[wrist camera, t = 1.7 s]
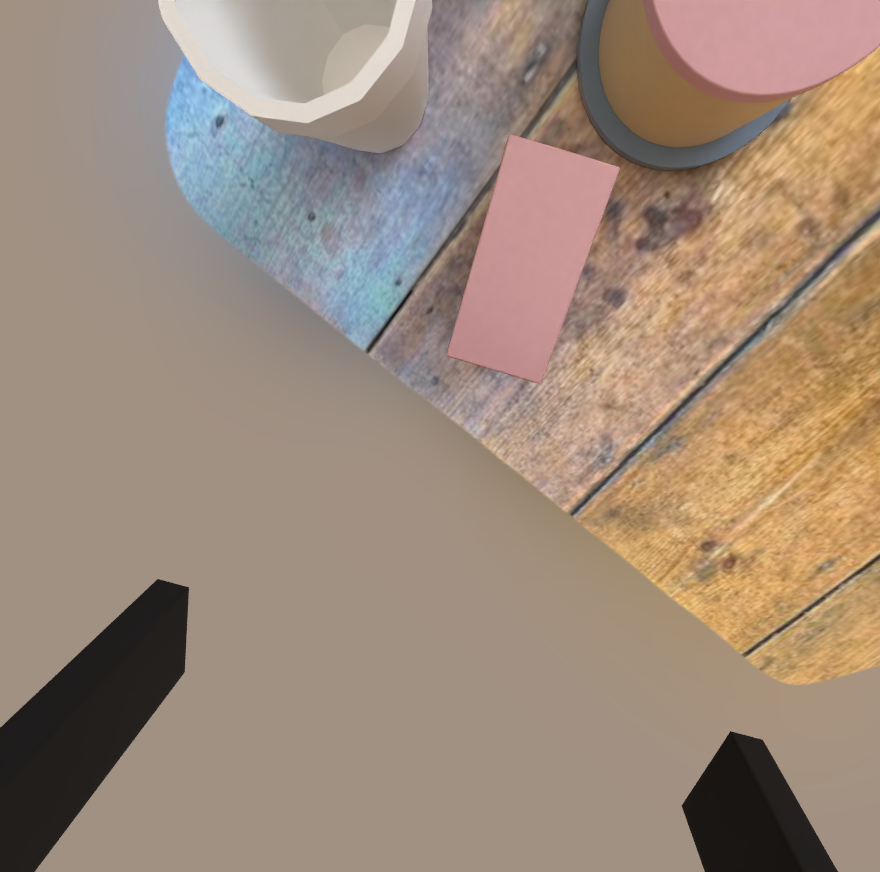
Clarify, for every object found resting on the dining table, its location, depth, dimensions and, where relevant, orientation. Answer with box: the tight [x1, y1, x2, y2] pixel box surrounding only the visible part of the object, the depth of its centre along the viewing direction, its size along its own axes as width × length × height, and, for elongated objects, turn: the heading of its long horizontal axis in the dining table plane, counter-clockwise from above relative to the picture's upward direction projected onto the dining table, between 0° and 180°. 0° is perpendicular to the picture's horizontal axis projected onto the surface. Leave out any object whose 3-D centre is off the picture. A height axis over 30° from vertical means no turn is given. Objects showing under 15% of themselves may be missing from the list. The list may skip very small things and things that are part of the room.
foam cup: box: [158, 0, 432, 154], centre depth 22 cm, size 10×9×13 cm
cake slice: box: [446, 135, 620, 384], centre depth 25 cm, size 9×4×11 cm, turn 164°
